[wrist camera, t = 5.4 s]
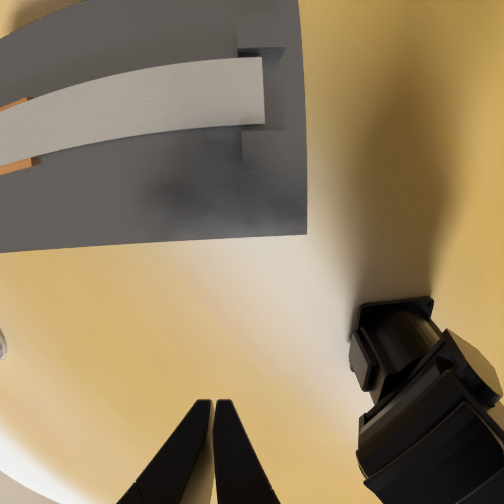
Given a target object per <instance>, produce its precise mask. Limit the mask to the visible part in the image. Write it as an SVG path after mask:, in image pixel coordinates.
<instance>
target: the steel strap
mask: <svg viewBox="0 0 504 504" xmlns="http://www.w3.org/2000/svg"><path fill="white" fill-rule="evenodd" d="M252 124H265V112H264V91H263V71H262V57H248V58H229V59H215V60H204V61H195V62H186V63H178V64H171V65H165V66H158V67H152V68H146V69H141V70H136V71H131V72H126V73H121V74H117V75H112V76H108V77H104V78H100V79H96V80H92V81H88V82H84V83H81V84H77V85H74V86H70V87H67V88H64V89H61V90H57V91H54V92H51V93H48V94H45V95H42V96H40V97H37V98H34V99H31V100H29V101H26V102H23V103H21V104H18V105H16V106H13V107H11V108H8V109H6V110H4V111H1V112H0V166H3V165H7V164H10V163H13V162H17V161H20V160H24V159H28V158H31V157H35V156H39V155H43V154H47V153H51V152H55V151H59V150H63V149H68V148H72V147H77V146H82V145H86V144H91V143H97V142H102V141H107V140H113V139H119V138H125V137H131V136H137V135H144V134H151V133H159V132H167V131H175V130H184V129H194V128H205V127H218V126H232V125H252Z"/></svg>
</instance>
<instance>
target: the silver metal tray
mask: <svg viewBox="0 0 504 504" xmlns="http://www.w3.org/2000/svg"><path fill="white" fill-rule="evenodd" d="M248 57H262V71H263V91H264V112H265V124H252V125H232V126H218V127H205V128H194V129H184V130H175V131H167V132H159V133H151V134H144V135H137V136H131V137H125V138H119V139H113V140H107V141H102V142H97V143H91V144H86V145H82V146H77V147H72V148H68V149H63V150H59V151H55V152H51V153H47V154H43V155H39V156H35V157H31V158H28V159H24V160H20V161H17V162H13V163H10V164H7V165H3V166H0V253H7V252H19V251H32V250H46V249H60V248H74V247H88V246H103V245H119V244H135V243H151V242H168V241H185V240H204V239H222V238H242V237H263V236H284V235H307V145H306V113H305V90H304V72H303V55H302V41H301V28H300V16H299V5H298V0H86V1H83V2H80V3H78V4H75V5H72V6H70V7H67V8H64V9H62V10H59V11H57V12H55V13H52V14H50V15H48V16H45V17H43V18H41V19H39V20H36V21H34V22H32V23H30V24H28V25H26V26H24V27H22V28H20V29H18V30H16V31H14V32H12V33H10V34H9V35H7V36H5V37H3V38H1V39H0V112H1V111H4V110H6V109H8V108H11V107H13V106H16V105H18V104H21V103H23V102H26V101H29V100H31V99H34V98H37V97H40V96H42V95H45V94H48V93H51V92H54V91H57V90H61V89H64V88H67V87H70V86H74V85H77V84H81V83H84V82H88V81H92V80H96V79H100V78H104V77H108V76H112V75H117V74H121V73H126V72H131V71H136V70H141V69H146V68H152V67H158V66H165V65H171V64H178V63H186V62H195V61H204V60H215V59H229V58H248Z"/></svg>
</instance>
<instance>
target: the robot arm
mask: <svg viewBox="0 0 504 504" xmlns="http://www.w3.org/2000/svg"><path fill="white" fill-rule="evenodd" d="M428 302H429V303H428ZM427 303H428V304H427ZM433 306H434V300H433V299H432V298H431V297H430V296H427V297H419V298H411V299H402V300H393V301H384V302H375V303H365V304H363V305H361V306H360V307H359V310H358V317H357V324H356V330H354V331H353V333H352V338H351V345H350V351H349V359H350V369H351V371H352V372H355V374H356V377H357V379H358V382H359V385H360V387H361V390H362V391H364V392H369V393H370V395H371V398H372V400H373V403H374V405H375V406H374V407H373V408H372V409H371V410H369V411H368V412H367V413H364V414H363V415H362V416H361V417H360V418H359V438H358V449H357V450H356V458H357V460H358V464H359V468H360V470H361V472H362V474H363V475H364V477H365V478H366V480H364V481H363V483H364V485H365V486H366V487H367V488H369V489H370V490H371V491H372V492H373V493H375V495H376V496H377V497H378V498H379V499H380V500H381V502H382V503H383V504H504V406H503V405H502V403H501V402H500V401H499V400H500V399H501V398H502V397H503V392H502V389H501V386H500V383H499V380H498V377H497V374H496V371H495V369H494V367H493V366H492V365H491V364H490V363H489V362H488V361H487V359H486V358H485V357H484V356H483V355H482V354H481V353H480V352H479V351H478V350H477V349H476V348H475V347H473V346H472V345H471V344H469V343H468V342H466V341H465V340H463V339H462V338H460V337H459V336H458V335H456V334H455V333H453V332H452V331H450V330H449V329H447V328H446V329H445V331H444V332H443V333H442V332H441V331H440V329H439V328H438V327H437V326H436V324H435V323H434V322H433V321H432V320H431V318H430V317H431V313H432V310H433ZM366 309H368V310H367V311H366V312H364V310H366ZM214 473H215V479H216V490H217V500H218V504H281V503H280V502H279V500H278V498H277V496H276V494H275V492H274V490H273V489H272V486H271V484H270V482H269V480H268V478H267V476H266V474H265V472H264V470H263V468H262V466H261V464H260V462H259V460H258V458H257V455H256V453H255V451H254V449H253V447H252V445H251V443H250V440H249V438H248V436H247V434H246V432H245V429H244V427H243V425H242V423H241V420H240V418H239V416H238V414H237V411H236V409H235V407H234V404H233V402H232V400H231V399H218V400H217V403H216V410H215V411H214V406H213V402H212V400H210V399H198V400H197V401H196V402H195V403H194V405H193V406H192V407H191V409H190V410H189V412H188V413H187V414H186V416H185V417H184V418H183V420H182V421H181V422H180V424H179V425H178V426H177V428H176V429H175V430H174V432H173V433H172V434H171V436H170V437H169V438H168V440H167V441H166V442H165V443H164V445H163V446H162V447H161V449H160V450H159V451H158V453H157V454H156V455H155V456H154V458H153V459H152V460H151V462H150V463H149V464H148V465H147V467H146V468H145V469H144V471H143V472H142V473H141V474H140V476H139V477H138V478H137V479H136V483H135V482H134V483H133V484H132V486H131V487H130V488H129V489H128V491H127V492H126V493H125V494H124V495H123V496H122V498H121V499H120V500H119V501H118V502H117V503H116V504H210V500H211V493H212V486H213V480H214Z"/></svg>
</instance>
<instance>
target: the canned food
mask: <svg viewBox="0 0 504 504" xmlns="http://www.w3.org/2000/svg"><path fill="white" fill-rule="evenodd" d="M6 356H7V346H6V342H5V339H4V336H3V334H2V332H1V330H0V364H1V363H2V362H3V360H4V359H5V357H6Z"/></svg>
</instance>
